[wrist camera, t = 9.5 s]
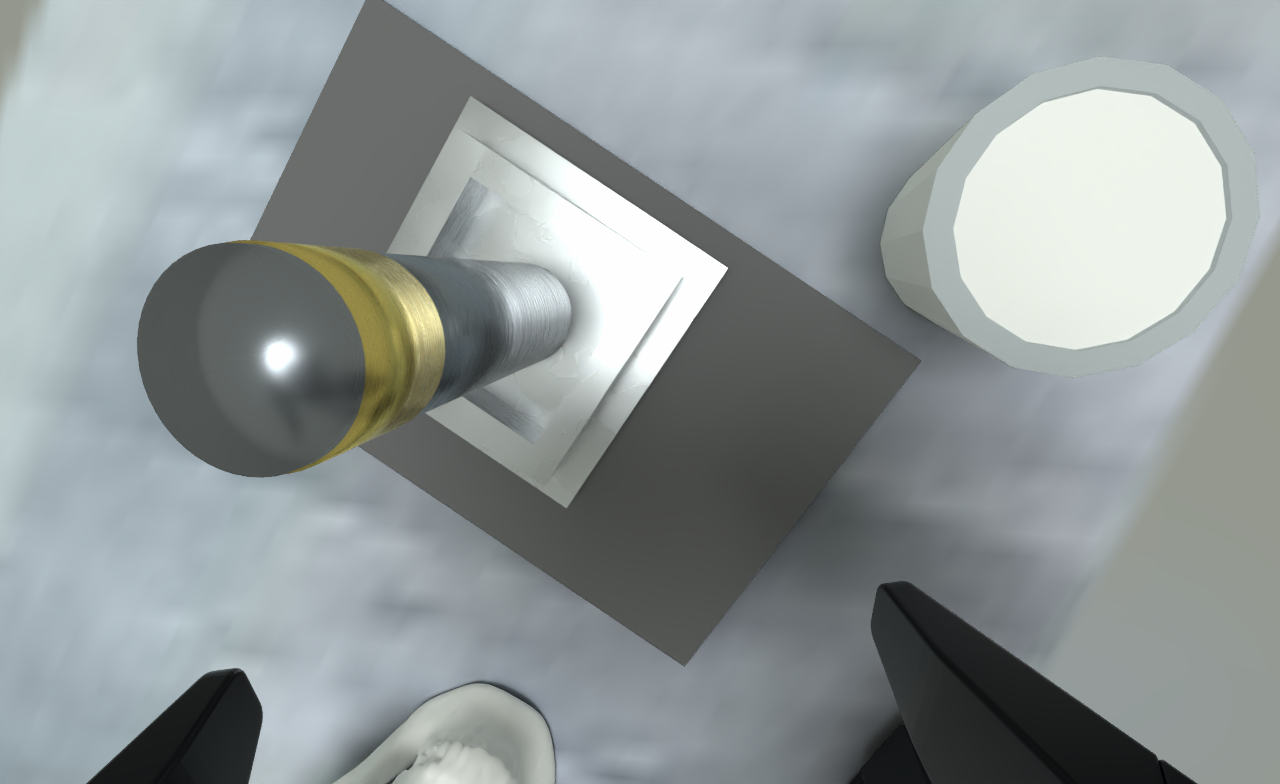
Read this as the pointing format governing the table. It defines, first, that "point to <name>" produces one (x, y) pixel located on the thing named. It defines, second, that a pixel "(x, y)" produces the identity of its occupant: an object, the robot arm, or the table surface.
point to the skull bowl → (464, 743)
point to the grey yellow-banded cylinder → (330, 345)
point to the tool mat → (673, 402)
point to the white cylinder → (1078, 219)
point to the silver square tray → (592, 277)
